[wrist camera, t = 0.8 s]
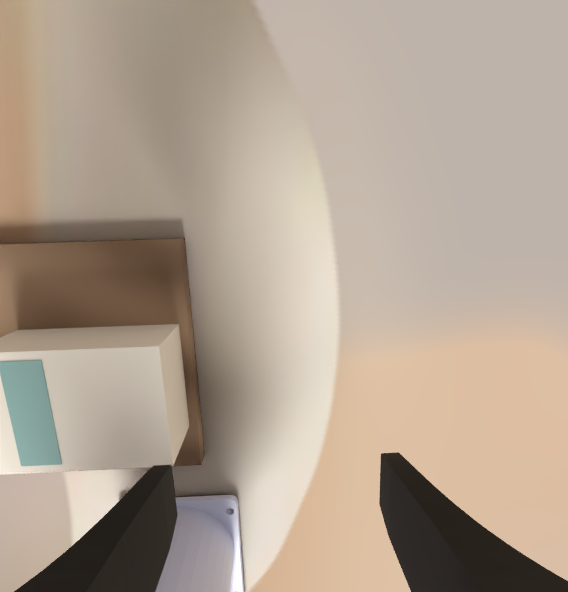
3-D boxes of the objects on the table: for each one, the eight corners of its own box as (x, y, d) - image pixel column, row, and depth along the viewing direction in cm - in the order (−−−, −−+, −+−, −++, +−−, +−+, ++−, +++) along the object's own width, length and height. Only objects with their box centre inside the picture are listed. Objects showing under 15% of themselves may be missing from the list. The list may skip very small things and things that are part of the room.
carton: (189, 426, 21) (173, 467, 18) (39, 432, 21) (-8, 475, 17) (178, 323, 20) (158, 346, 16) (17, 330, 19) (-38, 354, 16)
